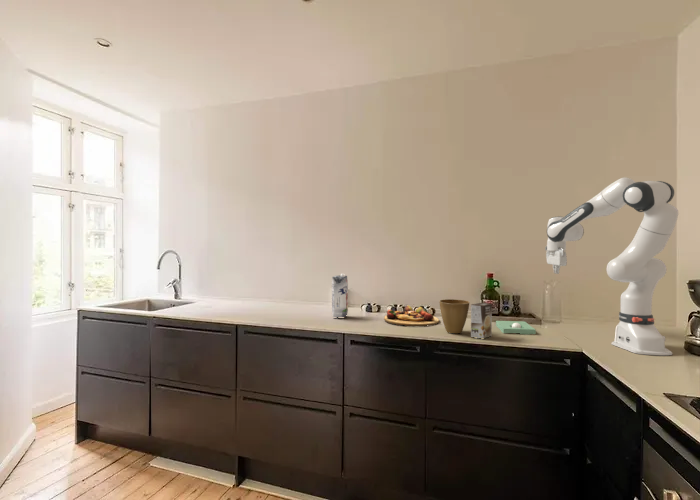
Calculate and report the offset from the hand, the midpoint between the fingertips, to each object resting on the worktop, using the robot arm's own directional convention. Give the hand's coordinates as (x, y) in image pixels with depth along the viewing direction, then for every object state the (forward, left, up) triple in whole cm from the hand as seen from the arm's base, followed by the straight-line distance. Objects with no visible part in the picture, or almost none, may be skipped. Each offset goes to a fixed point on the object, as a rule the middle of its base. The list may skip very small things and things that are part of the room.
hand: (556, 273), depth 205 cm
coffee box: (-26, +42, -29) cm, 57 cm away
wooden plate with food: (+8, +76, -30) cm, 82 cm away
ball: (-12, +23, -26) cm, 37 cm away
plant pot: (-18, +54, -29) cm, 64 cm away
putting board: (-7, +22, -29) cm, 37 cm away
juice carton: (+13, +120, -29) cm, 124 cm away
